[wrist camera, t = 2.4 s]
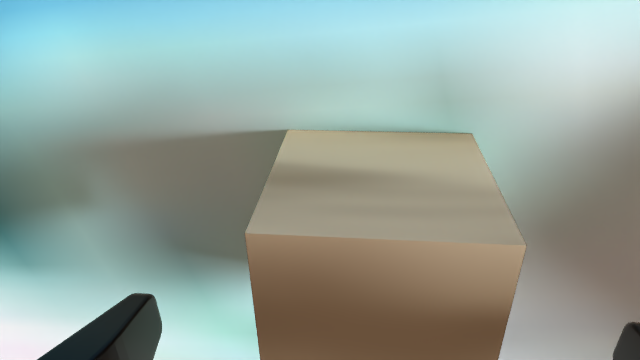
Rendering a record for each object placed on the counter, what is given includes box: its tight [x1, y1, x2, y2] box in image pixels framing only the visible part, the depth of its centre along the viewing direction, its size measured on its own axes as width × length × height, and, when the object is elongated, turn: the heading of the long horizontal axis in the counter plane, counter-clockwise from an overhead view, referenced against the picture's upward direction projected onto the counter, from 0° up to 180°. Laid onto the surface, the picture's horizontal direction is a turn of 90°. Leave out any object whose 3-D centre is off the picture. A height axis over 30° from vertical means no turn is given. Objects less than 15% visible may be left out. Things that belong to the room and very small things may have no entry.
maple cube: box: [245, 130, 527, 360], centre depth 10 cm, size 4×4×4 cm
